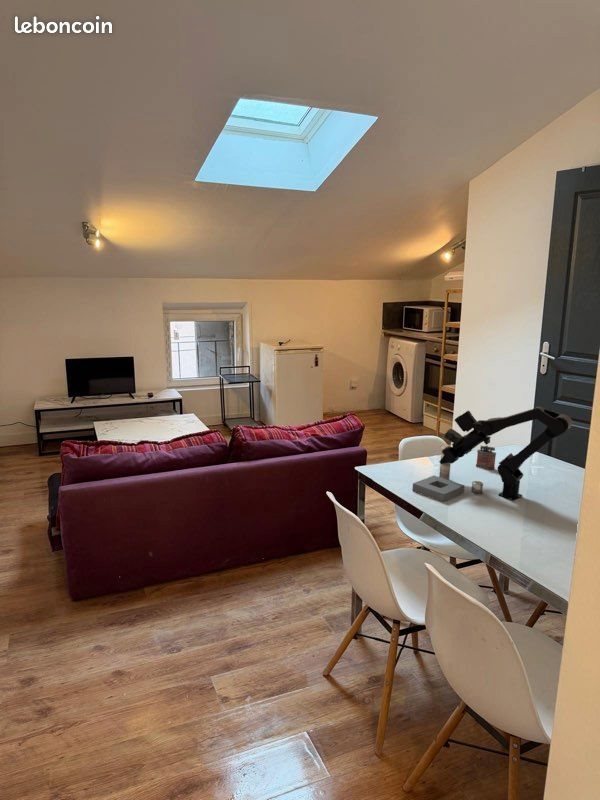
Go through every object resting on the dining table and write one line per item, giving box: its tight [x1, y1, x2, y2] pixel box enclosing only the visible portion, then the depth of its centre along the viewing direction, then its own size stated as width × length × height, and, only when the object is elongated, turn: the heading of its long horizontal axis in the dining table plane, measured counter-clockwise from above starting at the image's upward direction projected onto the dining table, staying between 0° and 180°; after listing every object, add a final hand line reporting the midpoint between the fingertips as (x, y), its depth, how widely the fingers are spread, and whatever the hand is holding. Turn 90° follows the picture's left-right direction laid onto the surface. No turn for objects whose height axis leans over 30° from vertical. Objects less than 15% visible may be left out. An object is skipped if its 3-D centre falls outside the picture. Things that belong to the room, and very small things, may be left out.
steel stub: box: [471, 480, 484, 496], centre depth 203 cm, size 4×4×4 cm
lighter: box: [475, 444, 497, 471], centre depth 230 cm, size 8×3×10 cm, turn 55°
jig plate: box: [411, 475, 466, 502], centre depth 203 cm, size 14×14×3 cm
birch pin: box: [438, 445, 451, 480], centre depth 215 cm, size 4×4×14 cm
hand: (442, 461), depth 215 cm, fingers open, 4 cm apart
